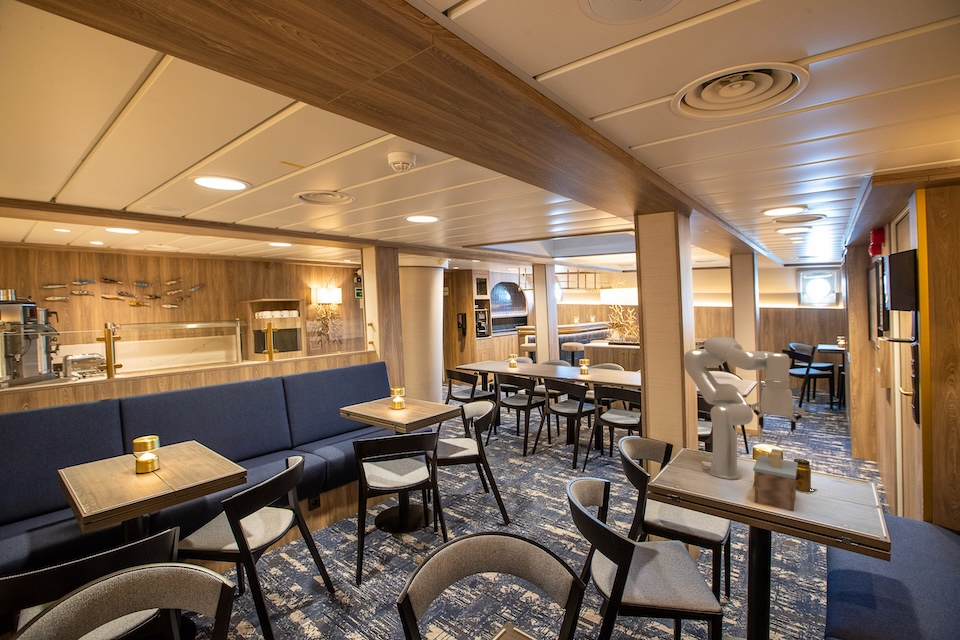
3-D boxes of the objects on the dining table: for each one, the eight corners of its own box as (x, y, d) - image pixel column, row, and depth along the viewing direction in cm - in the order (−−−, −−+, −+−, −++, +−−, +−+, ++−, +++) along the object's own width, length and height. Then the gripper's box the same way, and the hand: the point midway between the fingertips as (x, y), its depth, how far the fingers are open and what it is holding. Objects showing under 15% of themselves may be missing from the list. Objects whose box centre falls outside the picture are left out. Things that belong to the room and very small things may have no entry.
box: (754, 502, 164) (754, 470, 164) (759, 487, 178) (760, 458, 178) (793, 511, 156) (793, 478, 156) (795, 495, 170) (796, 465, 170)
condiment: (788, 488, 178) (788, 459, 178) (796, 484, 182) (797, 455, 182) (809, 494, 172) (809, 464, 171) (817, 490, 176) (818, 460, 176)
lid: (753, 473, 163) (753, 454, 163) (758, 460, 178) (758, 443, 178) (795, 481, 155) (795, 462, 155) (797, 467, 170) (797, 449, 170)
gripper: (749, 384, 169) (749, 427, 169) (804, 388, 158) (804, 435, 158) (752, 382, 175) (751, 424, 175) (805, 386, 164) (805, 431, 164)
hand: (776, 429), depth 167 cm, fingers open, 9 cm apart
